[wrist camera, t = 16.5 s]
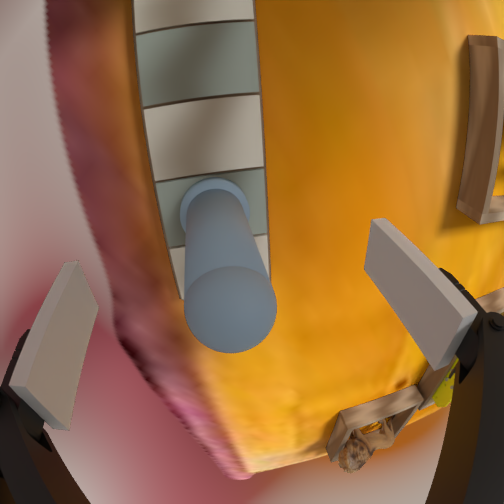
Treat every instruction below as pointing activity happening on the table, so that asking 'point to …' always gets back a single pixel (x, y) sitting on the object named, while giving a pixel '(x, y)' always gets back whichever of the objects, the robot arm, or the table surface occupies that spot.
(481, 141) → the frame
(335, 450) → the figurine organizer frame
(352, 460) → the lion figurine
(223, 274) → the blue-grey rounded peg
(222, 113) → the track
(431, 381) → the camera organizer frame
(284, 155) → the table surface
